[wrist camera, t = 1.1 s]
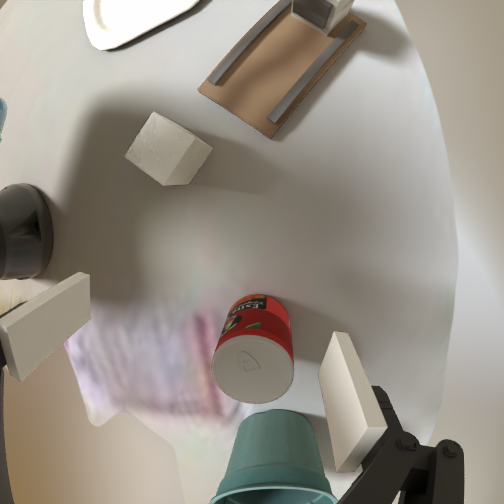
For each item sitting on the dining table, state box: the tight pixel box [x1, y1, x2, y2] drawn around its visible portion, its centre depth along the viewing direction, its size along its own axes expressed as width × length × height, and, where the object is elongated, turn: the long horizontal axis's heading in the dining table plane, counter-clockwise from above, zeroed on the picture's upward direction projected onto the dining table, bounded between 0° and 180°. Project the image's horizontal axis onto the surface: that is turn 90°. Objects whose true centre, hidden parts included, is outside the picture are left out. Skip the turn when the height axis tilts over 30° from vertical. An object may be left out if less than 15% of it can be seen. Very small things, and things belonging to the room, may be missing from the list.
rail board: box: [198, 0, 367, 139], centre depth 23 cm, size 10×20×9 cm, turn 143°
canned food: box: [212, 294, 294, 404], centre depth 31 cm, size 8×8×11 cm
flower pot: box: [209, 410, 338, 504], centre depth 33 cm, size 16×16×16 cm
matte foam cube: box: [124, 112, 214, 186], centre depth 28 cm, size 6×5×8 cm
